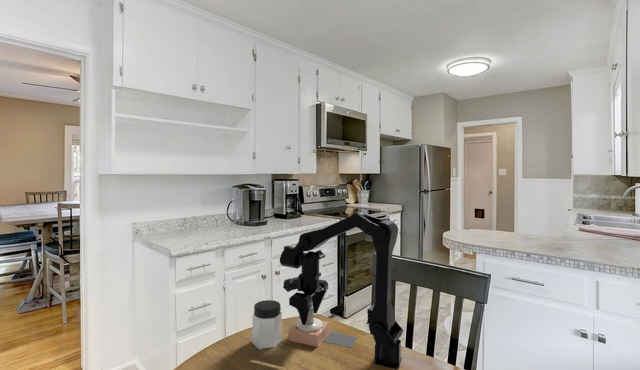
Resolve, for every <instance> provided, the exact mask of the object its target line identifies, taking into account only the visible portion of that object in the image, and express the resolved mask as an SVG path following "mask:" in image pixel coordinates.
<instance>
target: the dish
mask: <svg viewBox="0 0 640 370" xmlns="http://www.w3.org/2000/svg"><path fill="white" fill-rule="evenodd" d="M298 320H300V318H299V319H298ZM321 321H322V323H323V327H322V328H321V329H320V330H318V331H314V332H305V331H301V330H299V329H298V328H297V321H296V322H295V323H294V324H293V325H291V327H290V328H289V329H288V341H290V342H293V343H298V344H302V345H308V346H312V347H317V348H318V347H320V345H321V344H322V343H323V342H324V341H325V339H326V338H327V337H328V335H329V334H330V322H329V321H326V320H321Z"/></svg>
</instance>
